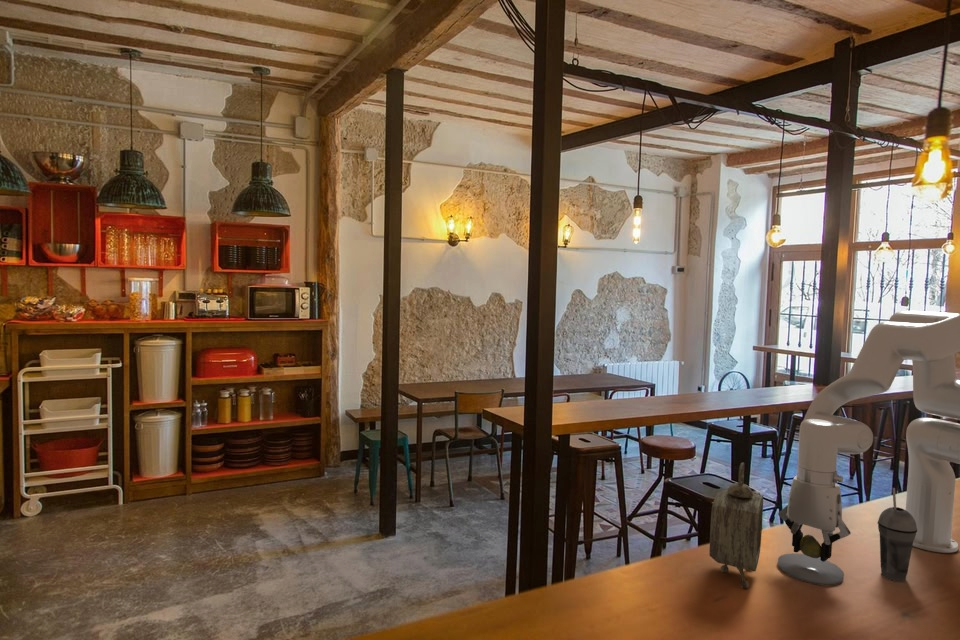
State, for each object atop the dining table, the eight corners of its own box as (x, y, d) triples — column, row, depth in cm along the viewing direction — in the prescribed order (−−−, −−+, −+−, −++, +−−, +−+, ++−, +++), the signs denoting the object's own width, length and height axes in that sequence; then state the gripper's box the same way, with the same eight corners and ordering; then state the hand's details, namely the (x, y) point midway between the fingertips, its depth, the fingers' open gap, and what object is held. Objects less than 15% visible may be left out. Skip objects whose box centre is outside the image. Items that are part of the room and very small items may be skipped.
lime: (800, 550, 138) (802, 529, 137) (824, 557, 135) (826, 535, 134) (796, 557, 134) (797, 535, 134) (820, 564, 131) (822, 541, 131)
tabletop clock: (753, 595, 123) (760, 475, 122) (706, 583, 128) (712, 468, 126) (759, 566, 136) (765, 458, 134) (717, 556, 140) (722, 452, 139)
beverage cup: (920, 587, 129) (927, 495, 127) (882, 582, 130) (889, 492, 129) (903, 571, 136) (910, 484, 134) (868, 567, 137) (874, 481, 136)
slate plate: (791, 552, 144) (791, 548, 144) (852, 573, 134) (852, 568, 134) (767, 568, 135) (768, 564, 135) (831, 591, 125) (831, 587, 125)
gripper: (865, 482, 129) (859, 564, 131) (783, 463, 142) (778, 538, 143) (853, 489, 124) (847, 574, 126) (769, 469, 137) (765, 546, 138)
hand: (811, 554), depth 134 cm, fingers closed on lime, 4 cm apart
